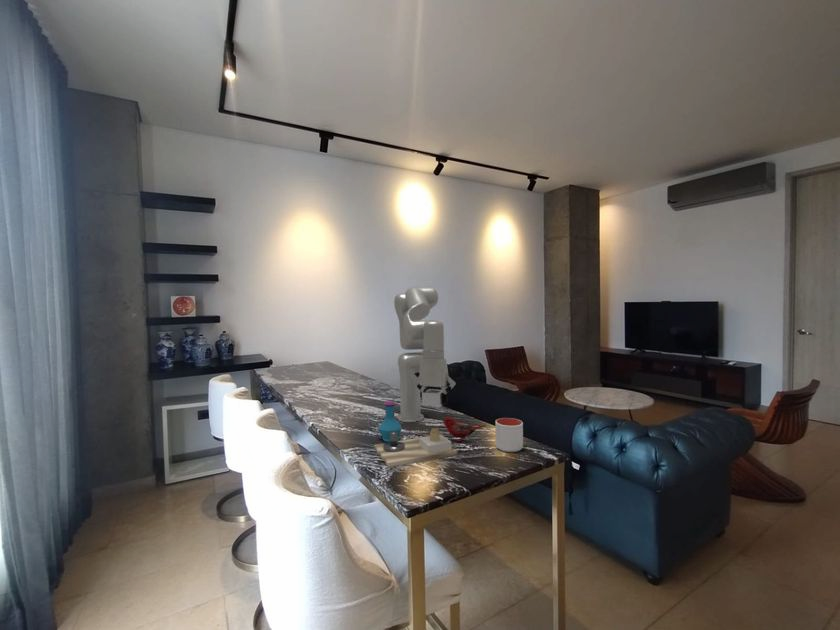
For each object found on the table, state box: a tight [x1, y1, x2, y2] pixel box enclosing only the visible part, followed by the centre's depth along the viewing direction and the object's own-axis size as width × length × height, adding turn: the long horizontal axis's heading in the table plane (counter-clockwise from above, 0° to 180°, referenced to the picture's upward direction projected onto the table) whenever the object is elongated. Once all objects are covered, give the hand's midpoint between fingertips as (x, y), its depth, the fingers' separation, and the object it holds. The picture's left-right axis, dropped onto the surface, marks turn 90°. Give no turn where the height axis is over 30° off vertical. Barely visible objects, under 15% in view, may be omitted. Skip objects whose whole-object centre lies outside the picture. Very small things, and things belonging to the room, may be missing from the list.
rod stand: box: [383, 431, 405, 452], centre depth 140 cm, size 8×8×6 cm
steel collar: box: [421, 388, 443, 408], centre depth 139 cm, size 7×7×4 cm
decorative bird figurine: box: [442, 416, 487, 443], centre depth 150 cm, size 3×18×10 cm, turn 95°
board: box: [373, 437, 458, 468], centre depth 140 cm, size 18×26×2 cm
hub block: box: [418, 427, 452, 454], centre depth 140 cm, size 9×9×7 cm
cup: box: [495, 417, 524, 453], centre depth 143 cm, size 10×10×10 cm
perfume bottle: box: [378, 400, 402, 443], centre depth 154 cm, size 9×9×15 cm
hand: (434, 402), depth 139 cm, fingers closed on steel collar, 7 cm apart
